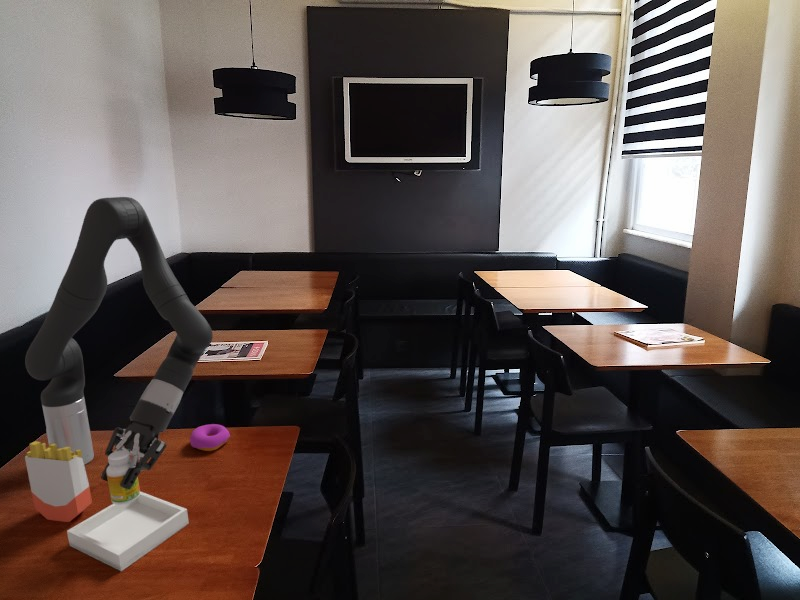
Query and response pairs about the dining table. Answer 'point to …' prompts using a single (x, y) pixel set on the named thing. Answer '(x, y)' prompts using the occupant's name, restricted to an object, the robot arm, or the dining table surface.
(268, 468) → the dining table surface
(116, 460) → the supplement bottle
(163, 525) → the tray
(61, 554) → the dining table surface
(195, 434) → the donut
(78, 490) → the french fries container
